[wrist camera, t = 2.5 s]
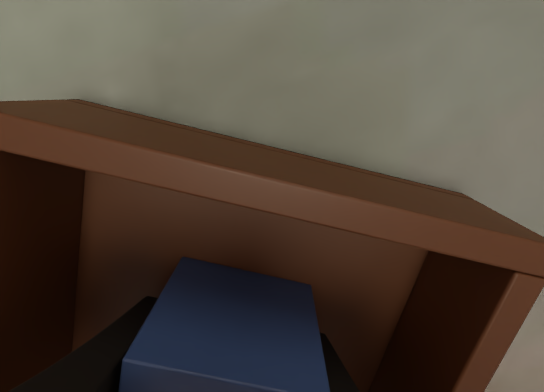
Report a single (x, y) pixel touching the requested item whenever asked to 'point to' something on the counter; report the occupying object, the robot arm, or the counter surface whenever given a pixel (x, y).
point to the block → (227, 335)
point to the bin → (248, 244)
